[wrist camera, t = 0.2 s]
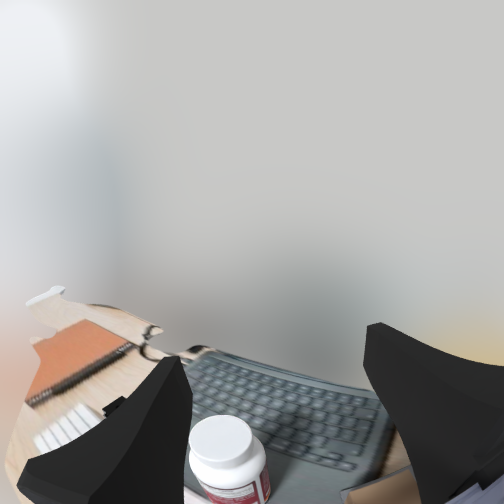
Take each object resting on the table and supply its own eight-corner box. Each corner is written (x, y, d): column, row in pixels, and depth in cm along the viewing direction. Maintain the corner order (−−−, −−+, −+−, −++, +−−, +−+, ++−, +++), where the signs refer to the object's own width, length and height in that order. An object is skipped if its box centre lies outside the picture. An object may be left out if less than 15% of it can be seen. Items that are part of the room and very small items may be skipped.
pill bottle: (235, 460, 24) (218, 396, 21) (283, 485, 20) (281, 427, 17) (196, 494, 19) (162, 438, 16) (244, 525, 15) (224, 483, 12)
